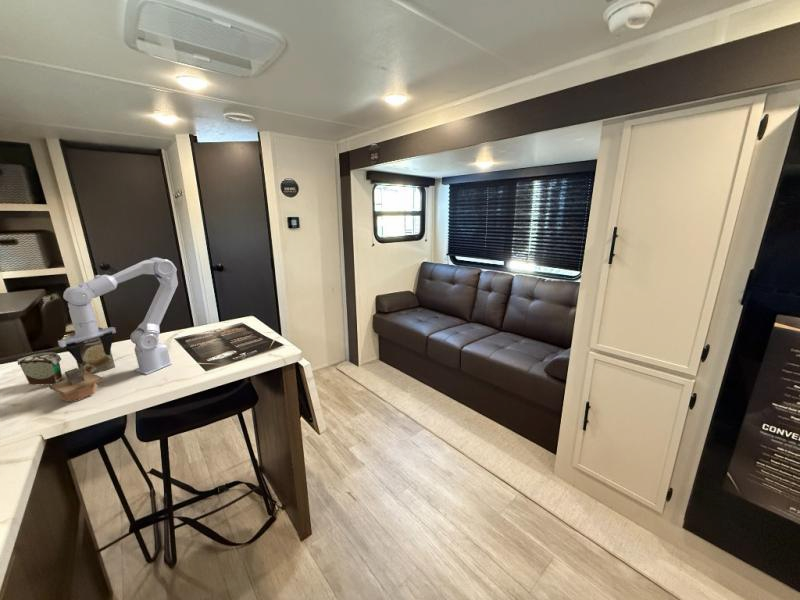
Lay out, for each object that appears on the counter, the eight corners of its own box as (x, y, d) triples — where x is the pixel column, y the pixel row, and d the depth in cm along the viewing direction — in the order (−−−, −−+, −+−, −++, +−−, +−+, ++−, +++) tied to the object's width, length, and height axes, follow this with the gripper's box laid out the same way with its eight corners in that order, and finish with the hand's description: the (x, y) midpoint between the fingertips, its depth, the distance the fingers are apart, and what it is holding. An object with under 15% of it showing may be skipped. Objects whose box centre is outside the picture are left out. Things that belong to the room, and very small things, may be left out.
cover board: (88, 373, 112) (84, 361, 110) (103, 379, 108) (100, 367, 107) (49, 388, 103) (44, 374, 102) (64, 394, 99) (60, 381, 98)
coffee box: (85, 377, 118) (73, 337, 113) (79, 372, 121) (67, 334, 117) (116, 367, 126) (105, 329, 121) (109, 363, 129) (99, 326, 124)
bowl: (89, 386, 112) (85, 375, 111) (102, 391, 109) (98, 380, 108) (58, 398, 105) (54, 387, 103) (71, 404, 102) (66, 392, 100)
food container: (77, 375, 119) (69, 351, 116) (61, 384, 113) (52, 359, 110) (43, 376, 119) (34, 352, 116) (25, 385, 113) (15, 359, 110)
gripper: (104, 314, 114) (112, 348, 118) (49, 326, 101) (60, 365, 105) (115, 316, 112) (123, 352, 115) (60, 329, 99) (71, 369, 102)
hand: (94, 358), depth 110 cm, fingers open, 7 cm apart
